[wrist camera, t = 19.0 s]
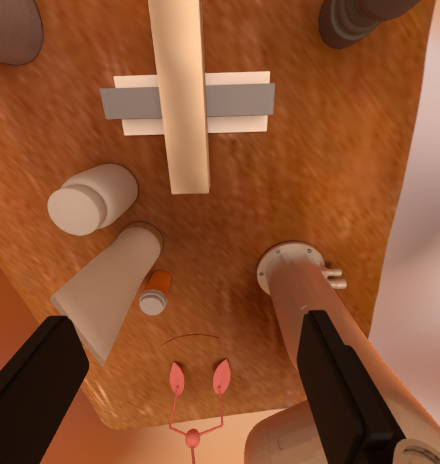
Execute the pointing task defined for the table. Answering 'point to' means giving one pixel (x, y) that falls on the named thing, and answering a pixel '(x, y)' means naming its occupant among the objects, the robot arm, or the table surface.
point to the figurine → (219, 386)
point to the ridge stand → (217, 98)
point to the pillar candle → (19, 31)
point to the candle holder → (357, 18)
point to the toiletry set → (107, 257)
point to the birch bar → (182, 91)
